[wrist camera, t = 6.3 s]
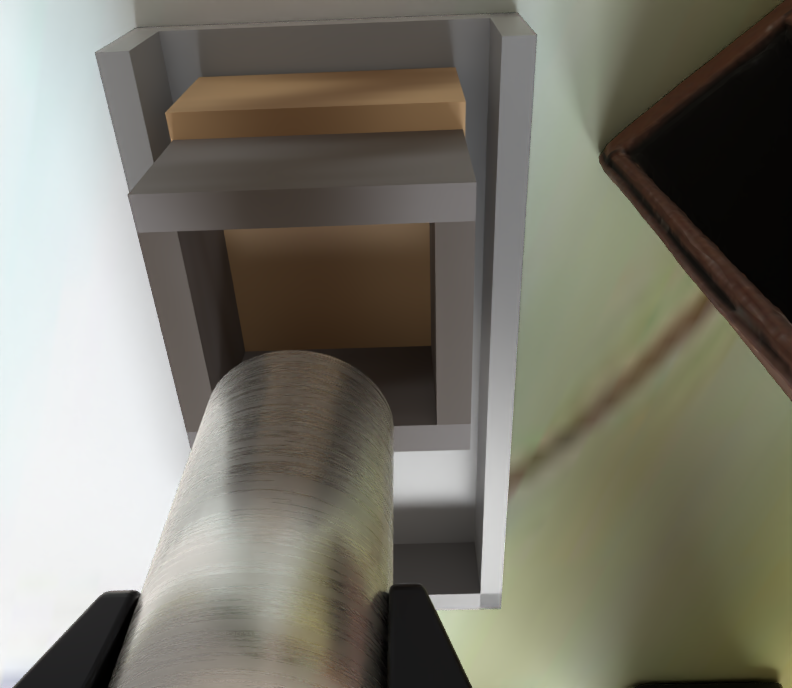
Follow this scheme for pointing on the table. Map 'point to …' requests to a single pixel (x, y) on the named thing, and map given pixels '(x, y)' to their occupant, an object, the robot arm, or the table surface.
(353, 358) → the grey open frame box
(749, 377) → the table surface
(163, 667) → the handle peg
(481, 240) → the bay
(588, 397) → the table surface
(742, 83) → the letter holder
